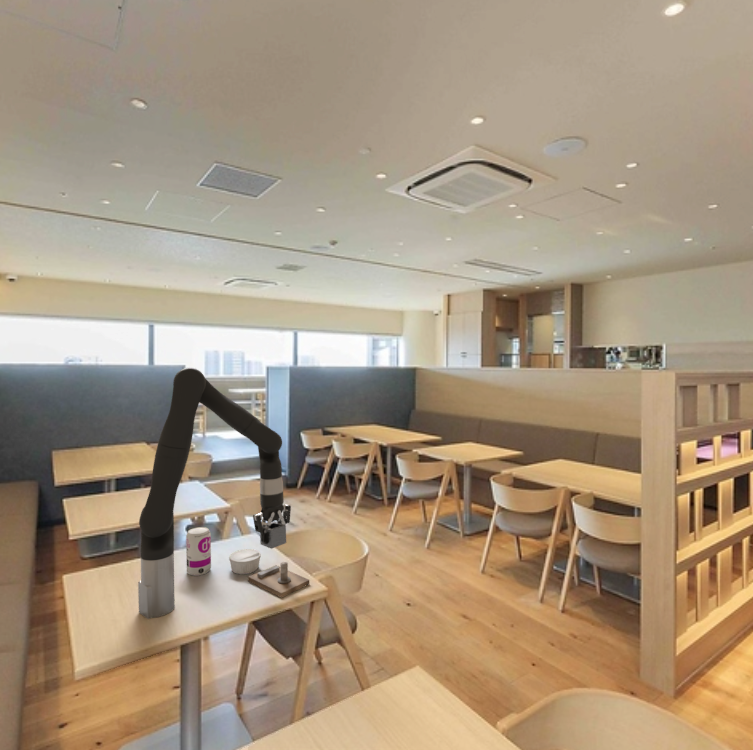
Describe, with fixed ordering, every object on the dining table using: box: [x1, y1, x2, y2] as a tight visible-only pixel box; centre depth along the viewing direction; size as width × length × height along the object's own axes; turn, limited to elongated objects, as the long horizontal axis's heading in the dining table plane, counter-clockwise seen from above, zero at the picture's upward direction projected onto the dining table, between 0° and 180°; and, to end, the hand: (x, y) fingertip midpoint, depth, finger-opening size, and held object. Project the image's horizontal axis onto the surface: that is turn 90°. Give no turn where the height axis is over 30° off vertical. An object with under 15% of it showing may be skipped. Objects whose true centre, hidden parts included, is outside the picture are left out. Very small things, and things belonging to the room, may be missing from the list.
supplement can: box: [185, 526, 212, 577], centre depth 172 cm, size 8×8×15 cm
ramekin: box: [228, 548, 261, 575], centre depth 175 cm, size 11×11×5 cm
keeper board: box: [247, 561, 310, 599], centre depth 164 cm, size 12×18×8 cm, turn 50°
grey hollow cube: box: [259, 520, 287, 550], centre depth 159 cm, size 6×6×6 cm
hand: (273, 540), depth 159 cm, fingers closed on grey hollow cube, 6 cm apart
